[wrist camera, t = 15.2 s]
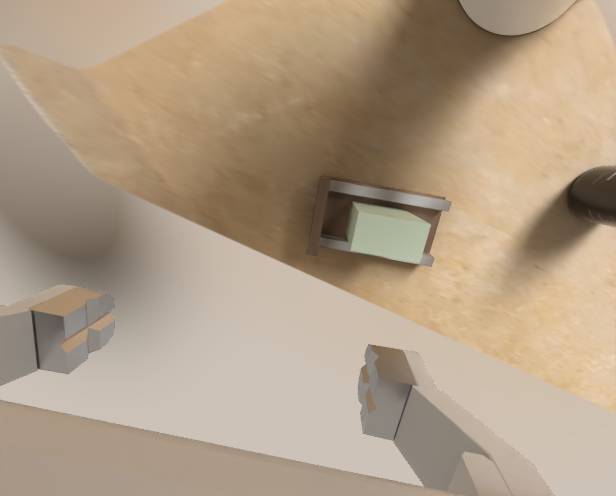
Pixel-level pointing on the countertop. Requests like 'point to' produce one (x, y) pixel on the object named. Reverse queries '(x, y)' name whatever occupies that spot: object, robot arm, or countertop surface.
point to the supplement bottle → (595, 196)
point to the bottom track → (340, 193)
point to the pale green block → (386, 232)
